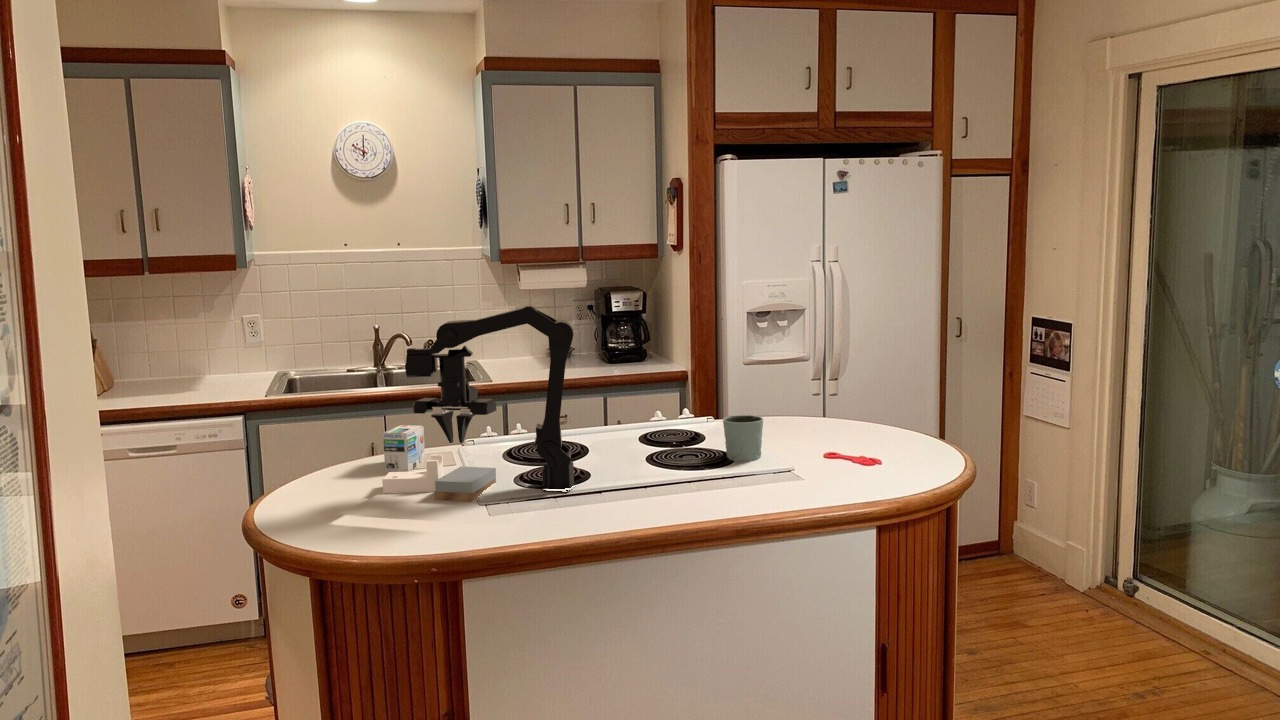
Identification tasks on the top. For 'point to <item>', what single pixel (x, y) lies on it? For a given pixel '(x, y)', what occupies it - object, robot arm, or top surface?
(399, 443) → the light bulb box
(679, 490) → the top surface
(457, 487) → the slate slab
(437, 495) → the walnut slab
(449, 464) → the top surface
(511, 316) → the robot arm
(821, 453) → the top surface
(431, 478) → the bracket
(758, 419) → the green cup
